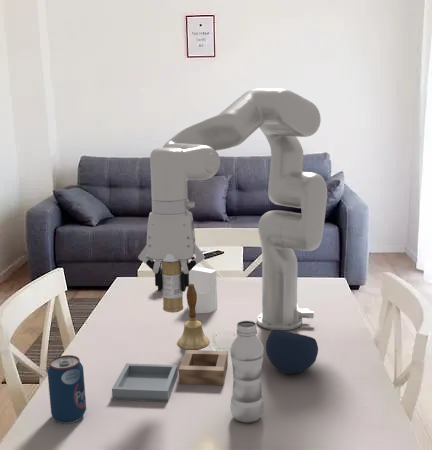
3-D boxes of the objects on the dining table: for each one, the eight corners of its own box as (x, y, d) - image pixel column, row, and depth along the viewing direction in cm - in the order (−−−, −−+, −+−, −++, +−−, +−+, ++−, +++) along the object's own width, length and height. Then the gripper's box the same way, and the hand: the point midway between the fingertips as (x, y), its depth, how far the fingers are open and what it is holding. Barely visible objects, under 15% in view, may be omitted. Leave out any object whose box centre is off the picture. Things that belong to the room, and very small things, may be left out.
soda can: (86, 422, 119) (82, 367, 116) (50, 427, 118) (45, 371, 115) (86, 405, 126) (82, 352, 123) (52, 409, 124) (47, 355, 122)
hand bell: (205, 350, 151) (204, 290, 147) (173, 348, 152) (171, 288, 149) (212, 337, 158) (211, 279, 155) (182, 335, 160) (180, 278, 156)
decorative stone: (313, 386, 132) (314, 343, 130) (260, 379, 135) (260, 338, 133) (320, 362, 143) (321, 323, 140) (271, 357, 146) (271, 318, 144)
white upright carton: (223, 305, 181) (222, 267, 178) (206, 315, 174) (205, 275, 171) (198, 300, 186) (197, 263, 183) (181, 309, 178) (180, 271, 176)
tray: (177, 375, 138) (177, 365, 137) (168, 401, 126) (167, 391, 126) (126, 373, 139) (126, 363, 139) (112, 399, 128) (111, 388, 127)
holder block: (227, 364, 143) (227, 351, 142) (223, 385, 133) (223, 370, 132) (186, 363, 144) (185, 349, 143) (179, 383, 134) (178, 369, 133)
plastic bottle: (228, 410, 123) (227, 318, 118) (261, 408, 123) (261, 316, 119) (232, 428, 116) (230, 331, 112) (266, 425, 117) (266, 329, 112)
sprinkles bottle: (178, 304, 135) (176, 246, 132) (186, 311, 131) (185, 251, 128) (159, 308, 133) (157, 249, 130) (167, 314, 129) (165, 254, 126)
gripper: (211, 203, 129) (212, 284, 133) (134, 203, 131) (138, 283, 135) (207, 210, 122) (209, 296, 126) (126, 210, 124) (130, 294, 128)
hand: (172, 288), depth 130 cm, fingers closed on sprinkles bottle, 4 cm apart
